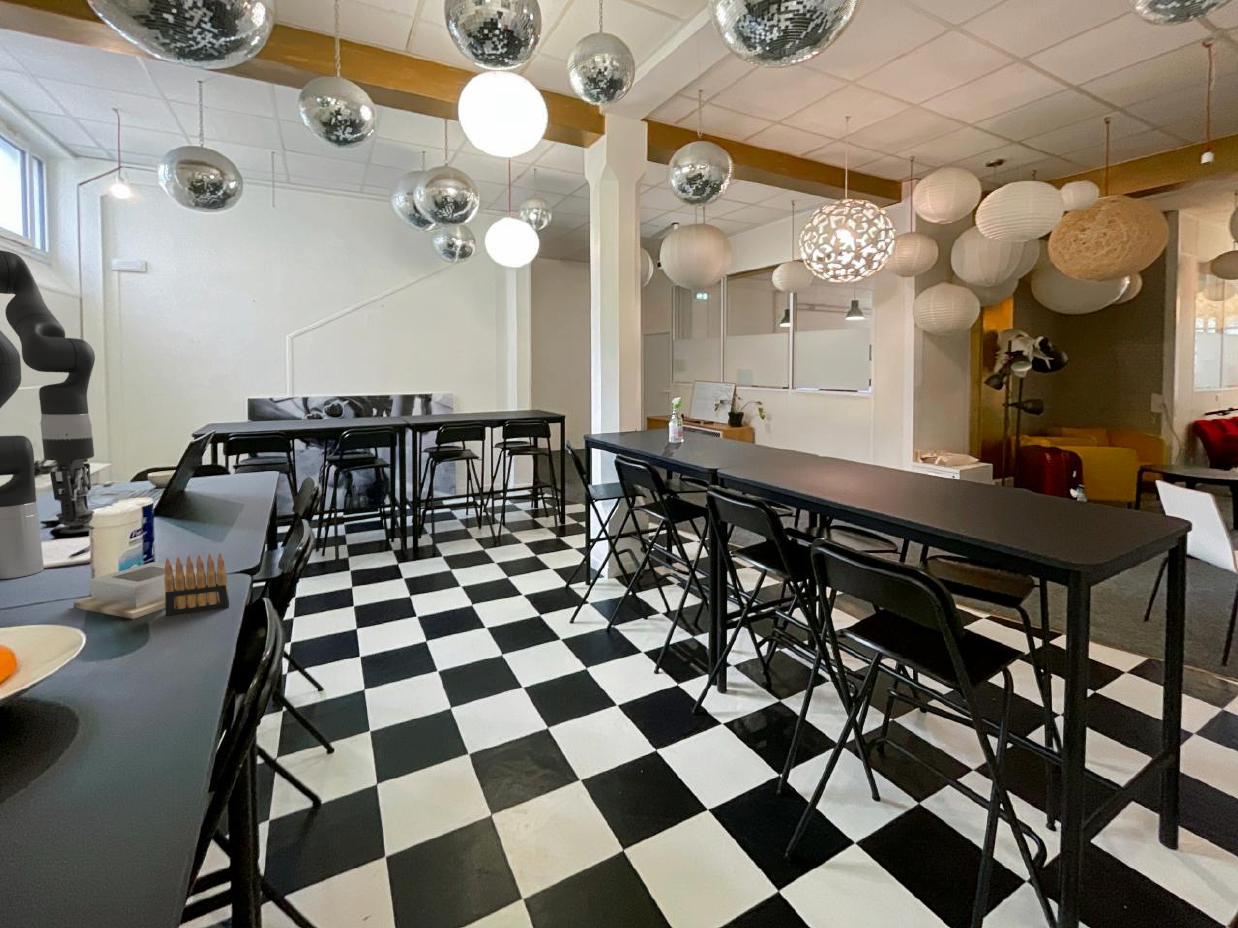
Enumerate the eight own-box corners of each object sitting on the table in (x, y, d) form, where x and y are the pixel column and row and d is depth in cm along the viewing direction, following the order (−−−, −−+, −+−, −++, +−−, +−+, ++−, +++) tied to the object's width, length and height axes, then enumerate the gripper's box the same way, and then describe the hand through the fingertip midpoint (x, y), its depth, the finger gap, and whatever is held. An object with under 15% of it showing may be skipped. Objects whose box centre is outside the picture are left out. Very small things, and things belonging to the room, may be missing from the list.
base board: (73, 607, 119) (73, 602, 119) (158, 581, 136) (158, 576, 136) (133, 619, 115) (133, 613, 115) (213, 590, 131) (213, 585, 131)
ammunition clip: (165, 616, 117) (161, 559, 115) (167, 613, 118) (162, 557, 117) (228, 608, 122) (225, 553, 120) (229, 605, 124) (226, 551, 122)
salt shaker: (102, 528, 122) (97, 473, 120) (68, 534, 116) (62, 476, 115) (85, 525, 124) (79, 471, 122) (50, 531, 118) (44, 474, 117)
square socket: (91, 600, 121) (89, 579, 120) (155, 580, 133) (154, 561, 132) (136, 608, 117) (134, 587, 117) (198, 587, 130) (197, 568, 129)
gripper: (79, 438, 113) (87, 521, 115) (102, 433, 126) (109, 508, 128) (27, 439, 110) (37, 525, 112) (56, 433, 122) (64, 510, 124)
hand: (75, 515), depth 120 cm, fingers closed on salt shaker, 6 cm apart
